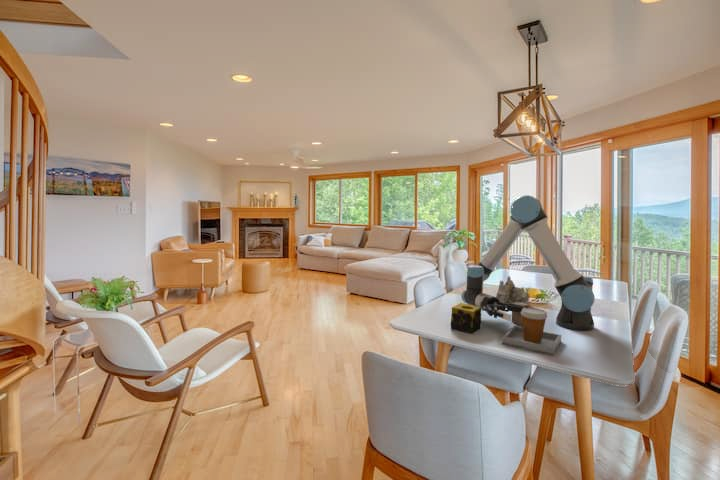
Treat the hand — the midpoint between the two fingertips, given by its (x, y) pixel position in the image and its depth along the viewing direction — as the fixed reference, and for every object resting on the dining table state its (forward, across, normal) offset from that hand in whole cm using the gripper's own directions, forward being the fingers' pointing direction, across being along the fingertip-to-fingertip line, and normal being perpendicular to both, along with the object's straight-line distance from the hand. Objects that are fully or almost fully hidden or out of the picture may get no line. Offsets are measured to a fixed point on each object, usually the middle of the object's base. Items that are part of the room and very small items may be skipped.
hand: (523, 316), depth 149 cm
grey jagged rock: (-47, -38, -10) cm, 61 cm away
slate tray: (+5, 0, -9) cm, 11 cm away
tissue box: (-17, +15, -10) cm, 25 cm away
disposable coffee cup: (+5, -1, -9) cm, 10 cm away
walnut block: (-17, -15, -9) cm, 25 cm away
